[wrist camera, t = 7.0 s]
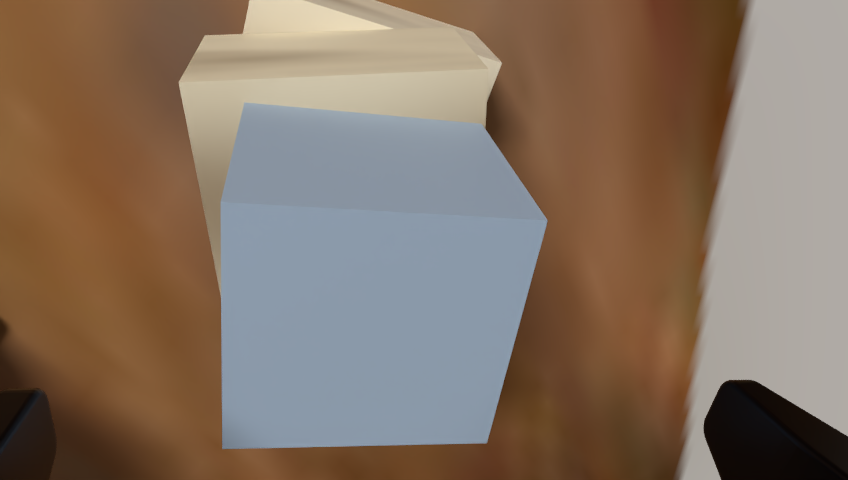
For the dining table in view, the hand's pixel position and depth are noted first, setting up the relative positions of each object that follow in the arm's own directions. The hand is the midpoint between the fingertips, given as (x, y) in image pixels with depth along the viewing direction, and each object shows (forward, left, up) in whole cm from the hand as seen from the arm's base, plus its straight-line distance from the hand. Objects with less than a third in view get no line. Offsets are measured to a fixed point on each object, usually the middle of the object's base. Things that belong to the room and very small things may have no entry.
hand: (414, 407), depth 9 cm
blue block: (0, 0, -6) cm, 6 cm away
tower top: (0, +1, -9) cm, 9 cm away
